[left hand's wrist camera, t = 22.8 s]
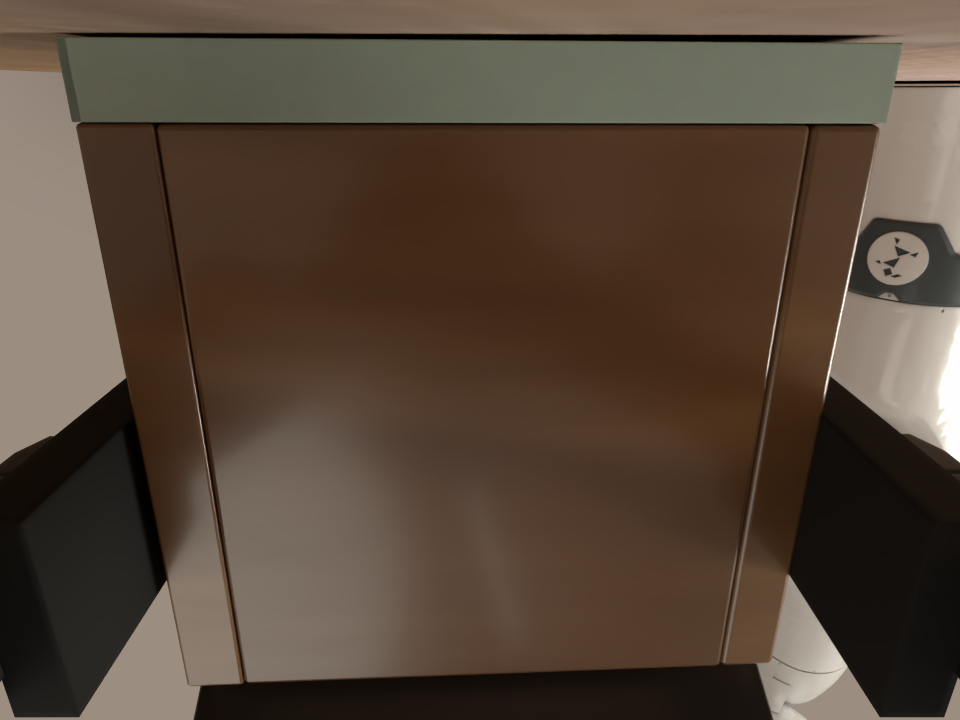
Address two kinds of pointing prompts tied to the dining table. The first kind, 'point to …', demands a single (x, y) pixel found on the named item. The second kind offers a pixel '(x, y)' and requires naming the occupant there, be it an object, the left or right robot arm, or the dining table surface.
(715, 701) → the lid
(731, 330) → the chest
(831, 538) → the left robot arm
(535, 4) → the dining table surface
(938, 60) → the dining table surface
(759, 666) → the right robot arm
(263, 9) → the dining table surface
